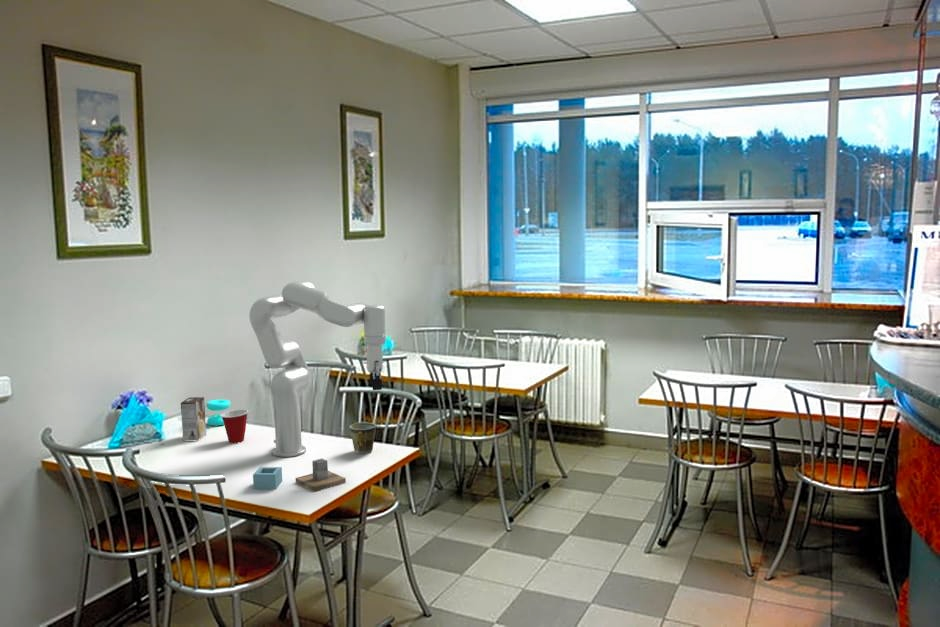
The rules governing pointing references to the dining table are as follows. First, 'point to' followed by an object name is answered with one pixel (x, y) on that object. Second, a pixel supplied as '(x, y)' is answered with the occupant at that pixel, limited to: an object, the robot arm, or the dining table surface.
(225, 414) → the plastic cup
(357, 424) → the ceramic cup
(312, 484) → the post base
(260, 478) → the blue hollow block
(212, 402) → the donuts
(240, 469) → the dining table surface
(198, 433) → the coffee box
